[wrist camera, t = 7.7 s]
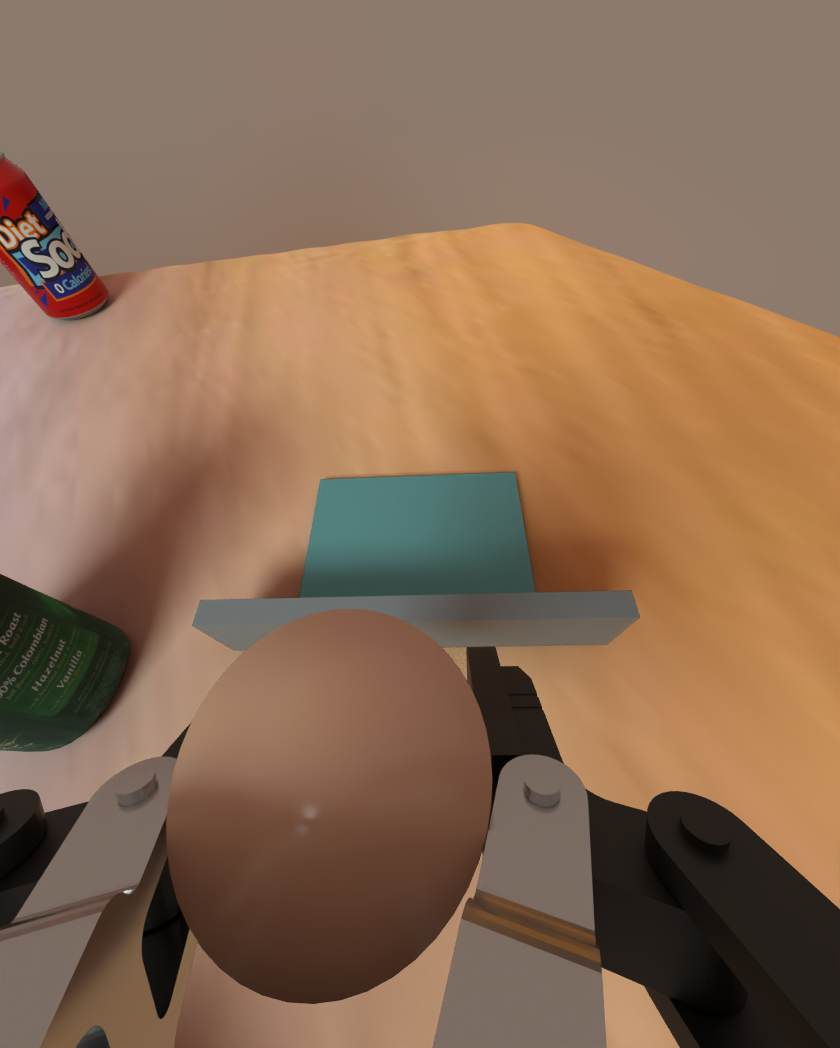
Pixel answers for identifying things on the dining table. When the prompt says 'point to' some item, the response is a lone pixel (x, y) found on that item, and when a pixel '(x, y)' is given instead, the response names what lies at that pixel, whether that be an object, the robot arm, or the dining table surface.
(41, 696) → the coffee jar
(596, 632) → the low wall
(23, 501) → the dining table surface
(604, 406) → the dining table surface
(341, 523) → the teal mat
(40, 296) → the soda can
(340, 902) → the tan domed capsule
